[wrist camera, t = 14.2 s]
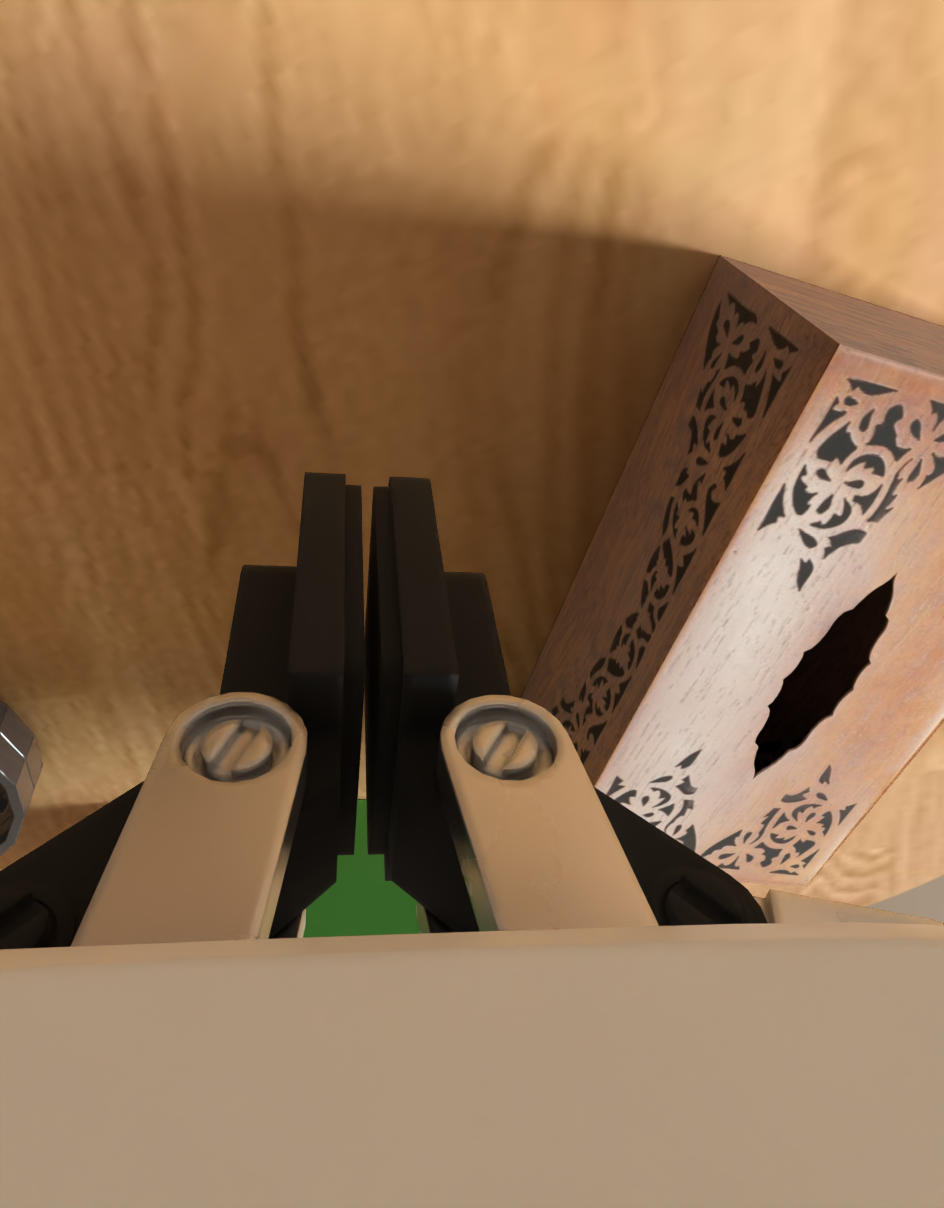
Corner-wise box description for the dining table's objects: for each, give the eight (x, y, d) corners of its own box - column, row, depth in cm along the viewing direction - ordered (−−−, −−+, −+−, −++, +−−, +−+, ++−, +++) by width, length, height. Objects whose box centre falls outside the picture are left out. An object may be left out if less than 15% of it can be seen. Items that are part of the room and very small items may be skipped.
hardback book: (142, 883, 52) (41, 1412, 33) (132, 801, 48) (9, 1355, 29) (429, 875, 56) (485, 1349, 37) (444, 798, 51) (516, 1290, 32)
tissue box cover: (720, 255, 34) (840, 344, 26) (998, 344, 38) (1174, 444, 30) (512, 717, 48) (549, 866, 40) (732, 746, 52) (806, 887, 44)
